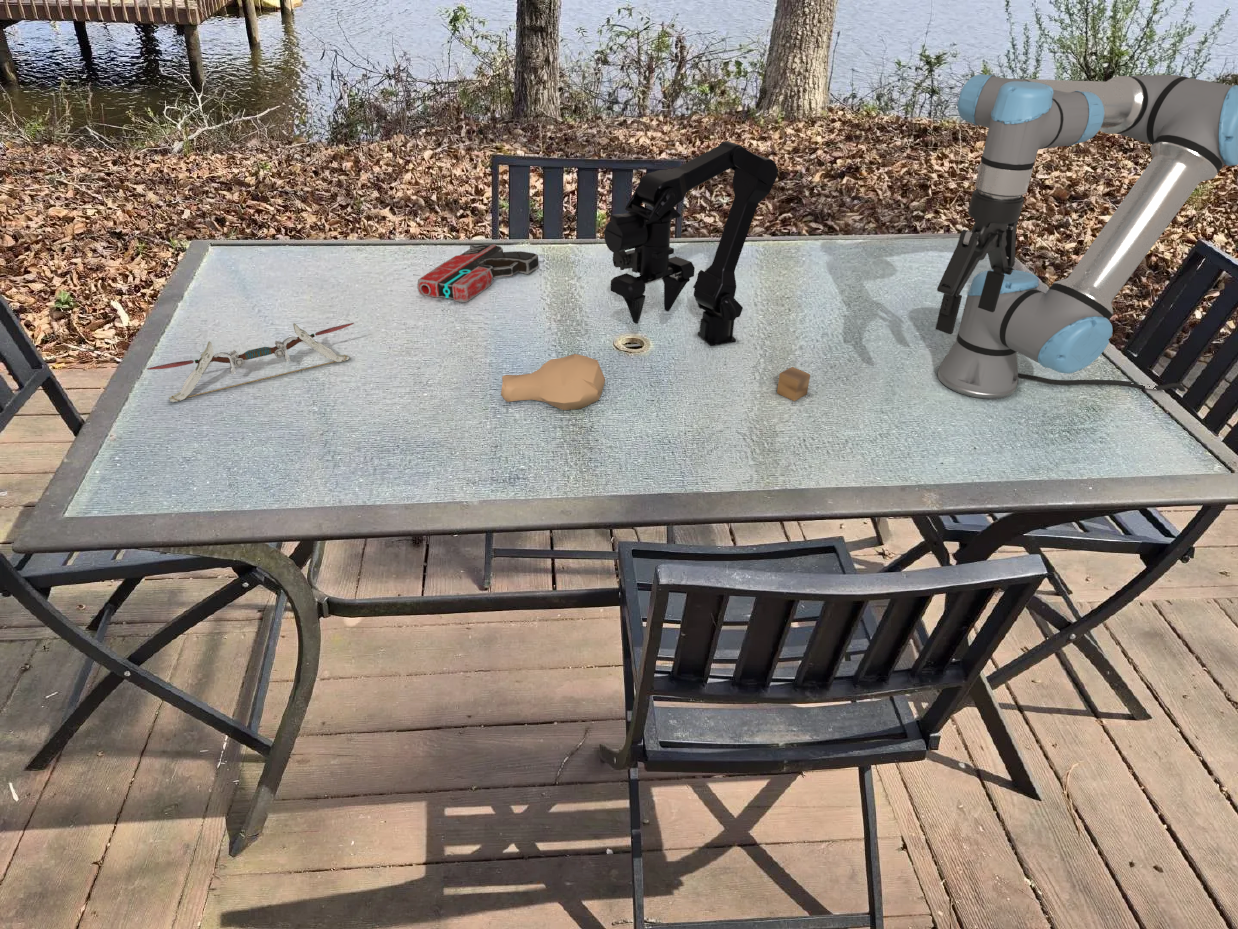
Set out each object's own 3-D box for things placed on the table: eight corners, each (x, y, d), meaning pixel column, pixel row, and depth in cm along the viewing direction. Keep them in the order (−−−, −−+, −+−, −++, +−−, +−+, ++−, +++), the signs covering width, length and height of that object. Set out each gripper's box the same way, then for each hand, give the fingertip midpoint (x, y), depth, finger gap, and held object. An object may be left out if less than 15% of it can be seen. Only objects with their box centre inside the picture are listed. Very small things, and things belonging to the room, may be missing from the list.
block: (789, 386, 176) (792, 366, 173) (807, 394, 173) (810, 374, 171) (776, 393, 173) (779, 373, 171) (794, 401, 171) (797, 381, 168)
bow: (357, 354, 182) (350, 309, 176) (360, 358, 181) (353, 313, 175) (156, 402, 164) (141, 354, 158) (158, 406, 162) (143, 358, 157)
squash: (607, 416, 164) (601, 378, 158) (502, 424, 166) (492, 387, 160) (608, 380, 172) (602, 343, 166) (508, 388, 174) (499, 351, 167)
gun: (542, 248, 224) (475, 239, 230) (485, 289, 199) (411, 278, 205) (543, 265, 226) (476, 256, 232) (486, 308, 202) (414, 296, 207)
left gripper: (658, 221, 180) (654, 293, 189) (591, 242, 169) (591, 316, 178) (698, 235, 174) (693, 309, 182) (632, 257, 163) (629, 334, 171)
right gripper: (1015, 172, 144) (982, 294, 155) (933, 201, 129) (904, 333, 141) (1060, 183, 139) (1022, 307, 151) (980, 214, 125) (946, 349, 137)
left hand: (651, 316), depth 179 cm, fingers open, 9 cm apart
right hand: (965, 320), depth 146 cm, fingers open, 13 cm apart
